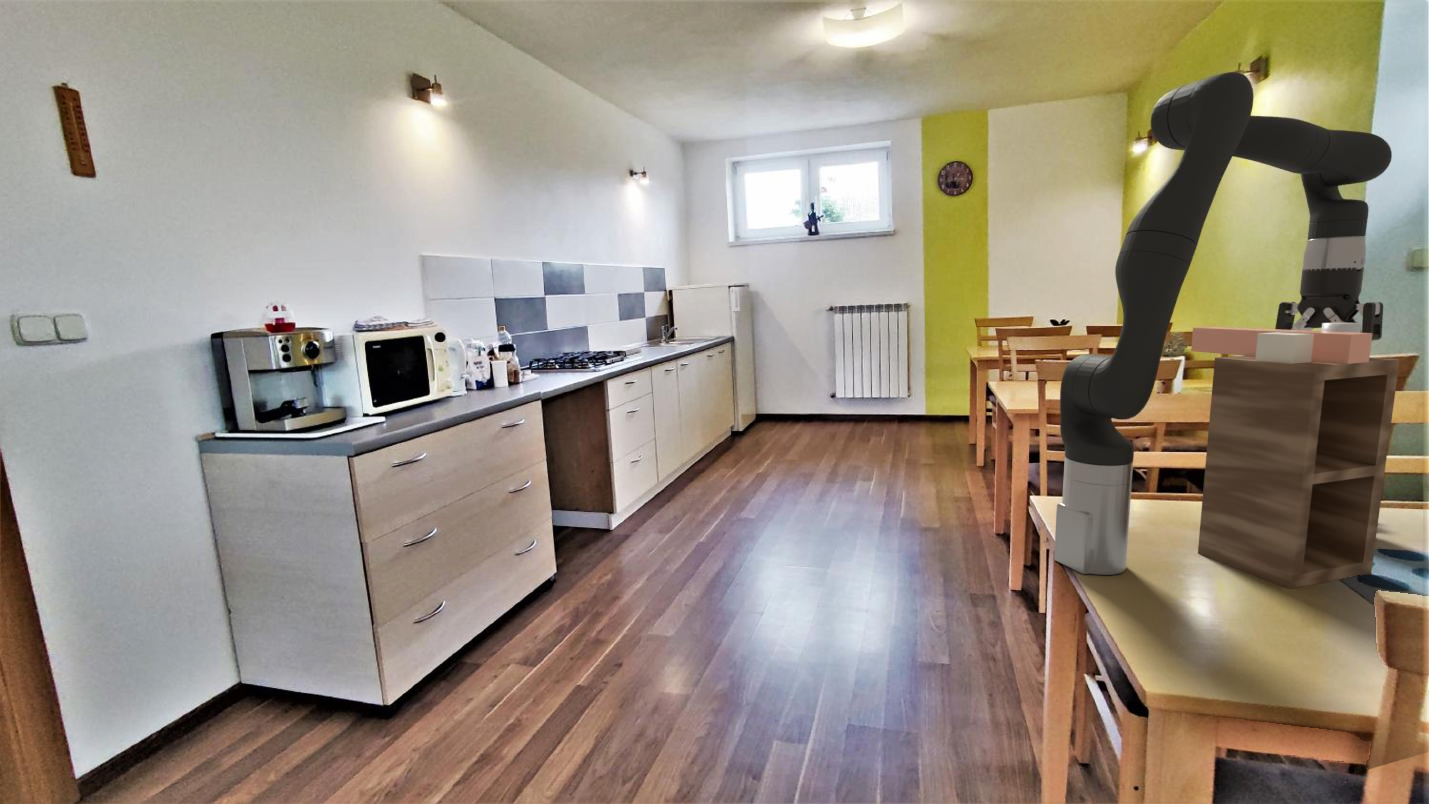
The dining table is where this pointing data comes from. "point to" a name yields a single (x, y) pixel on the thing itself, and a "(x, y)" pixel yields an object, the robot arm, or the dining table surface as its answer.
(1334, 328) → the grey-blue round brick
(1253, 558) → the walnut shelf
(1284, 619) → the dining table surface
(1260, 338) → the off-white block brick
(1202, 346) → the coral bar brick
